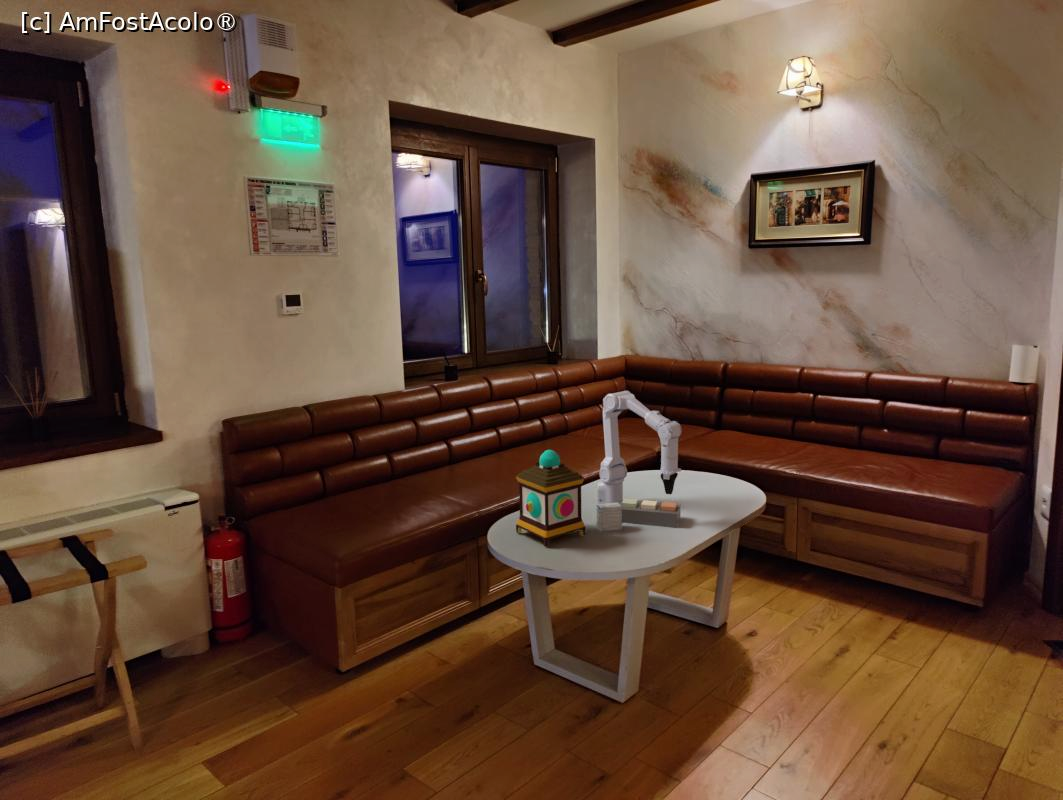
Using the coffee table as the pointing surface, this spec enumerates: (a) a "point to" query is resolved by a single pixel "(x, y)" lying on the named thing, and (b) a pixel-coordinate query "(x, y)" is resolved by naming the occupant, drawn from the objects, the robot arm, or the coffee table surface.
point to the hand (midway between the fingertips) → (668, 493)
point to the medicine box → (609, 516)
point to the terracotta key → (669, 506)
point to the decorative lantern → (550, 499)
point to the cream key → (649, 505)
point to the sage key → (630, 503)
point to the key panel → (651, 516)
